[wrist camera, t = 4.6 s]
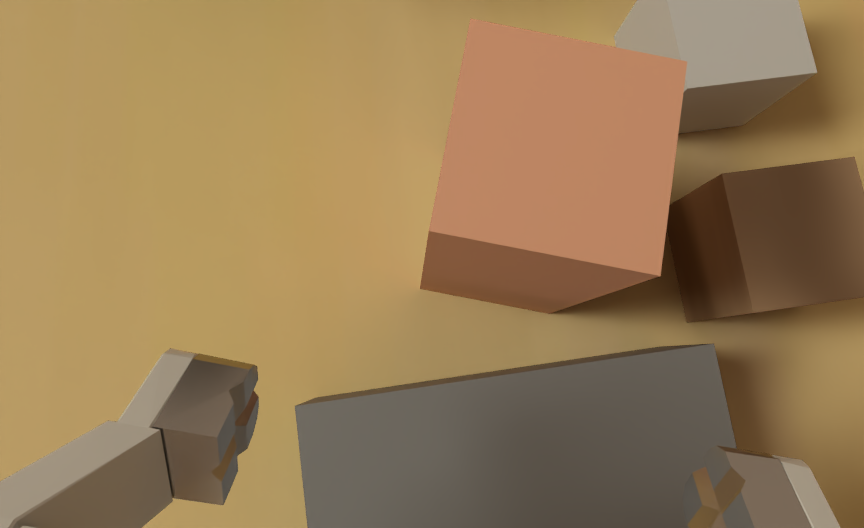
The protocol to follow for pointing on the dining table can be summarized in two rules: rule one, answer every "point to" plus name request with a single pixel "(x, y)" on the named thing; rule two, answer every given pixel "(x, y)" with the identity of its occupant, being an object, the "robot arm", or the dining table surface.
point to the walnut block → (770, 239)
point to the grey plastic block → (724, 54)
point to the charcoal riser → (519, 445)
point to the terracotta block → (553, 170)
